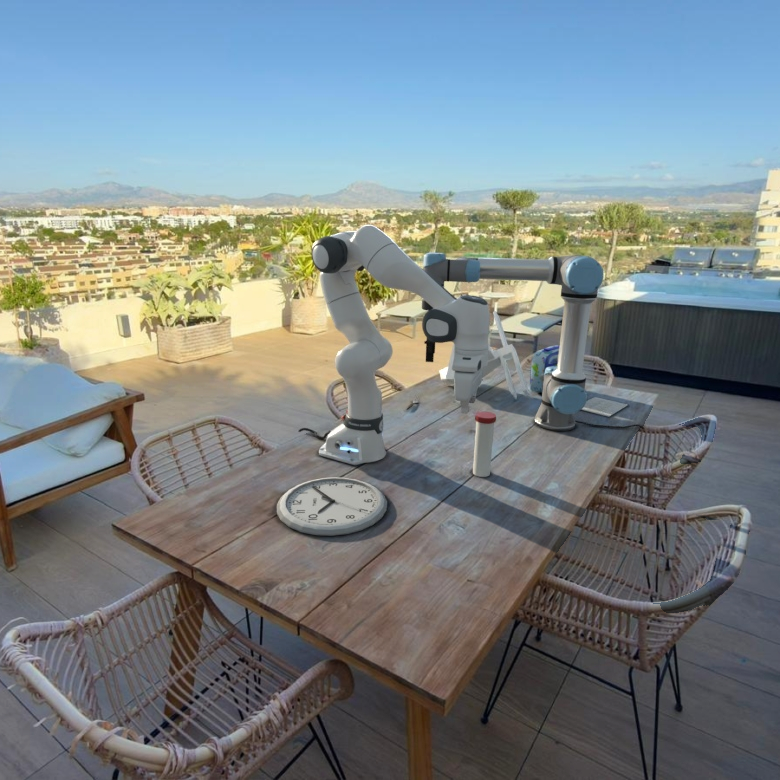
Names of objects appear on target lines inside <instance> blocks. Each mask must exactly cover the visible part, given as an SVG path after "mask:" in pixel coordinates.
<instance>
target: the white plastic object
mask: <svg viewBox="0 0 780 780" xmlns="http://www.w3.org/2000/svg"><path fill="white" fill-rule="evenodd" d="M492 315H493V319H494V321H495V324H496V325H495V326H496V328H497V332H498V335H499V338H500V342H501V345H502V347H500V348H498V349H496V350H495V349H493V348H492V347H491V346H490V344H489V343H488V363H487V366H485V367H483V369H482V381H484V378H485V377H486V376H487V375H489V374H490V373H492V372H494V371H495V370H496V369H497V368H499V367H500V366H502V370H503V373H504V376H505V380H506V383H507V386H508V390H509V393H510V394H511V395H512V397H513V398H514V399H515V400H517V392H516V391H517V390H516V388H515V385H514V381H513V378H512V375H511V371H510V369H509V365H508V361H510V360H513V363H514V366H515V369H516V372H517V376H518V380H519V382H520V385H521V389H522V391H523V393H524V395H525V396H526V397H528V396H531V395H530V389H529V388H528V387H529V386H528V384H527V381H526V378H525V375H524V371H523V369H522V368H523V367H522V366H521V362H520V359H519V355H518V352H517V349H516V347H515V346H514V345H513V343H511V344H508V341H507V337H506V334H505V331H504V328H503V325H502V321H501V318H500V315H499V314H498V312H497V311H496V310H495V311H492ZM454 349H455V344H454V343H453V344H452V349H451V353H450V357H449V362H448V366H446V367H444V368H442V369H440V370H439V371H438V372H439V376H440V381H442V383H443V384H444V385H445V386H449V385H454V373H455V371H453V370H452V364H453V361H454Z"/></svg>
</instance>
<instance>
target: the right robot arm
mask: <svg viewBox="0 0 780 780" xmlns="http://www.w3.org/2000/svg"><path fill="white" fill-rule="evenodd" d="M422 264H423V265H422V269H423V270H424V271H426V272H427V273H428V274H429V275H430V276H432V277H433V278H434V279H435V280H436V281H437V282H438V283H439V284H441V285H442V286H443V287H444V288H445V282H447V283H449V282H452V283H453V282H457V283H468V284H470V283H477V282H479V281H480V280H495V281H497V280H499V281H500V280H501V281H526V282H527V281H531V282H546V283H547V284H548V285H557V286H561V289H560V298H561V299H562V300H563V303H564V305H563V313H562V322H561V330H560V339H559V345H558V346H559V355H558V364H557V366H553V367H547V368H546V369H545V373H544V382H543V392H542V393H541V402H540V405H539V407H538V410H537V411H536V413H535V416H534V424H535V425H536V426H537V427H539V428H542V429H544V430H549V431H556V432H567V431H572V430H574V429H575V428H576V423H577V424H582V425H585V426H591V427H597V428H598V427H599V428H607V429H629V428H634V427H638V428H640V429H641V430H645V427H644V426H642V425H641V424H638V423H637V424H636V423H635V424H630V425H625V426H624V425H623V426H621V425H620V426H619V425H618V426H617V425H607V424H596V423H589V422H585V421H580V420H577V419H576V418H575V417H576V416H575V414H576V413H579V412H580V411H582V410H581V409H582V408H583V407H584V406H585V404H586V401H588V397H587V392H586V389H585V388H586V383H587V382H586V381H587V375H586V374H585V373H584V371H583V369H584V361H585V355H586V347H587V339H588V338H587V337H588V330H589V324H590V318H591V317H590V316H591V308H592V303H593V302H594V301H596V300H597V298H598V294H599V293H598V291H599V288H601V285H602V284H603V281H604V269H603V267H602V265H601V264H600V262H599V261H597V260H596V259H595V258H594V257H592V256H587V255H581V254H574V255H573V254H572V255H565V256H551V257H549V258H548V259H545V258H544V259H543V258H542V259H541V258H540V259H539V258H501V257H500V258H497V257H496V258H495V257H494V258H492V257H466V256H460V257H457V258H455V259H451V258H449V259H448V258H447V257H446V253H444V252H427V253H425V254H424V255H423V263H422ZM421 309H422V310H423V311H427V312H428V311H429V310H431V309H433V307H432V306H431V305H429V304H428V303H427V302H426V301H425V300H424V299H423V298H421ZM423 343H424V344H425V362H426V363H434V359H435V357H434V356H435V353H436V343H435V342H432V341H430V340H429V339H428V338H427V337H426V340H424V342H423Z"/></svg>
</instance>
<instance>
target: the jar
mask: <svg viewBox="0 0 780 780" xmlns="http://www.w3.org/2000/svg"><path fill="white" fill-rule="evenodd" d="M494 428H495V422H494V423H491V424H484V423H479V422H477V421H476V420H475V437H474V449H473V450H474V451H473V462H472V463H473V464H472V474H473V475H474V476H476V477H480V478H487V477H489V476H490V474H491V468H492V467H491V466H492V465H491V464H492V453H493V442H494V430H495V429H494Z"/></svg>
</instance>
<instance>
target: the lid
mask: <svg viewBox="0 0 780 780" xmlns="http://www.w3.org/2000/svg"><path fill="white" fill-rule="evenodd" d="M474 420H475V422H476V421H477V422H479V423H484V424H491V423H494V424H495V423H496V422H497V414H496V413H493V412H491V411H486V410H485V411H478V412H477V411H476V413H475V416H474Z"/></svg>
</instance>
